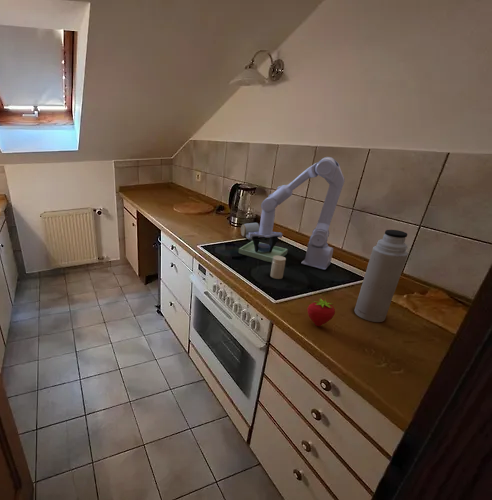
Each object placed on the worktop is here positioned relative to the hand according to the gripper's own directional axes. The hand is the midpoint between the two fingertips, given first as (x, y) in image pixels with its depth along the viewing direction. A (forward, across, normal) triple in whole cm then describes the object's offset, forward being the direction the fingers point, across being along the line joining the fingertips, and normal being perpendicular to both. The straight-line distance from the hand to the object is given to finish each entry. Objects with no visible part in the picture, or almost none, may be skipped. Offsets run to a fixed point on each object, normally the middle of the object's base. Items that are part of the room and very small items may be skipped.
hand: (262, 251), depth 140 cm
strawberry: (+1, 0, -54) cm, 55 cm away
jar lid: (-2, 0, 0) cm, 3 cm away
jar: (+1, -1, -23) cm, 23 cm away
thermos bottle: (+1, +19, -48) cm, 52 cm away
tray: (+1, 0, 0) cm, 1 cm away
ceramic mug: (+1, 0, +21) cm, 21 cm away
